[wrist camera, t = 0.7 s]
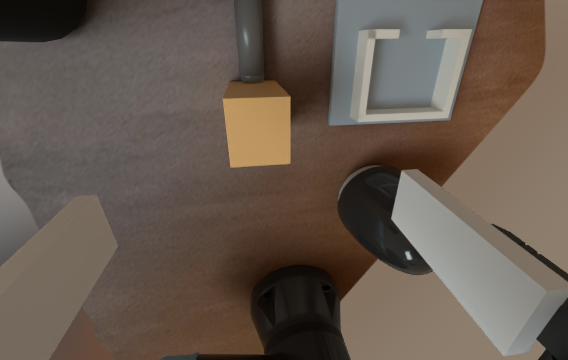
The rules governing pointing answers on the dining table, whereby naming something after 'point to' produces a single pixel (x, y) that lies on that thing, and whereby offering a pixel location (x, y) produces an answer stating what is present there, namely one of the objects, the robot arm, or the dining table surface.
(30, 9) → the coffee jar
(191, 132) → the dining table surface
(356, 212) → the dark grey egg shape
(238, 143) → the plug
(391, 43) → the board
